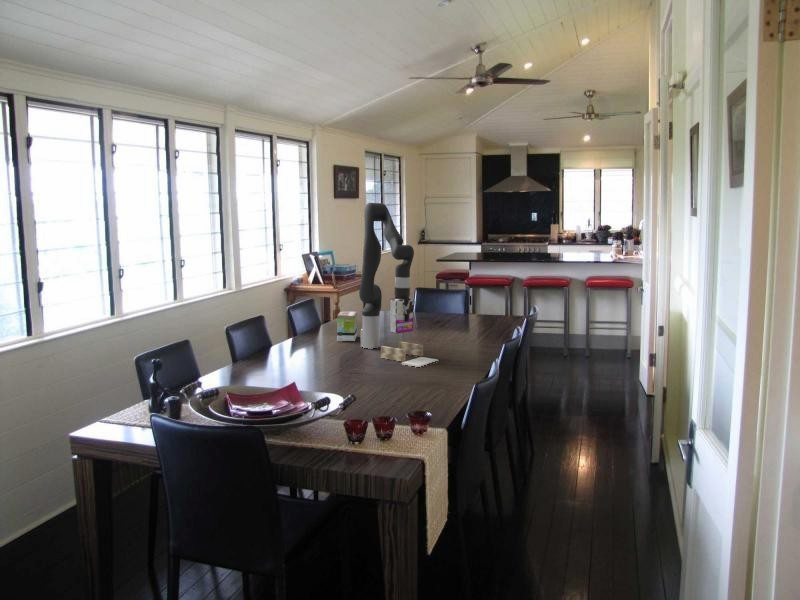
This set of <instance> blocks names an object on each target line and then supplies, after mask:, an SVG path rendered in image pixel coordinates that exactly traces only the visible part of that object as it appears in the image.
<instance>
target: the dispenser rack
mask: <svg viewBox="0 0 800 600" xmlns="http://www.w3.org/2000/svg"><path fill="white" fill-rule="evenodd" d="M406 354H413V355H419V356H423V357H424V345H423V344H419V343H413V342H406V341H398V347H392V346H386V345H381V346H380V359H382V358H385V359H384V360H387V359H390V360H389V361H393V360H396V361H395V362H398V361H402V362H405V361H407V360H406V356H407V355H406ZM402 362H401V363H402Z"/></svg>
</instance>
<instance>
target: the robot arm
mask: <svg viewBox="0 0 800 600" xmlns="http://www.w3.org/2000/svg"><path fill="white" fill-rule="evenodd" d="M363 213H364V215H363V219H364V221H363V222H364V238H363V239H364V240H363V252H362V268H361V269H362V270H361V271H362V272H361V279H360V285H359V290H358V291H359V293H358V296H359V298H360V301H361V302H363V303H364V304H365V305H364V307H363V308H362V310H361V329H360V348H362V347H363V348H362V349H364V348H368V349H367V350H374V349H373V348H377V349H379V348H381V346H380V341H381V340H380V336H381V333H380V332H381V331H380V330H381V328H380V327H381V325H380V324H381V323H380V317H381V316H380V314H381V313H380V312H381V311H382V310H381V309H382V301H383V300H382V296H383V295H382V289H381V287H380V286H379V285H378V284H376V283H375V277H376V274H377V271H378V269H379V266H380V264H381V260H382V259H381V258H382V245H381V242H380V240H379V238H378V237H377V234H376V232H375V222H381V223H382V224H384V231H383V236H384V238H385V240H386V242H387V244H389V248H390V250H391V251H390V252H391V256H392V257H393V259H395V260H398V261H402V262H401V263H399V264H397V265H396V266H395V272H394V273H395V277H394V297H393V298H390V299H404V303H403V310H404V311H405V322H407V321H409V314H410V313H413V314H414V307H415V300H413V301H411V300H410V299H409V298H410V296H411V267H412V263H413V260H414V255H415V250H414V247H413V246H412V245H411V244H403V243H404V239H403V237H402V235H401V234H400V232H399V230H398V229H397V227H396V226H395V223H394V221H393V218H392V216H391V213H390V211H389V208H388V207H387V205H386V204H385V203H382V202H381V203H379V202H367V203H366V205H365V207H364V212H363ZM408 303H409V305H408ZM407 305H408V307H405V306H407ZM378 347H379V348H378Z"/></svg>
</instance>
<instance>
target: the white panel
mask: <svg viewBox="0 0 800 600" xmlns="http://www.w3.org/2000/svg"><path fill="white" fill-rule="evenodd" d="M435 361H438V362H439V359H436V358H430V357H425V356H423V357H416V358H413V359H409V360H406V361H405V362H400V363H401V364H402V365H401V366H405V365H408V366H407V367H411V366H415V367H414V368H416V367H420V368H422V367H421V366H423V367H425V366H424V365H426V366H428V365H427V364H429V363H432V362H435Z"/></svg>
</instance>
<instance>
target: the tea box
mask: <svg viewBox="0 0 800 600" xmlns="http://www.w3.org/2000/svg"><path fill="white" fill-rule="evenodd" d="M336 321H337V323H336V326H337V327H336V328H337V329H336V330H337V331H336V342H342V341H354V342H355V341H356V339H357V337H358V311H340V312H339V313H338V314H337V320H336ZM356 336H357V337H356Z"/></svg>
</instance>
